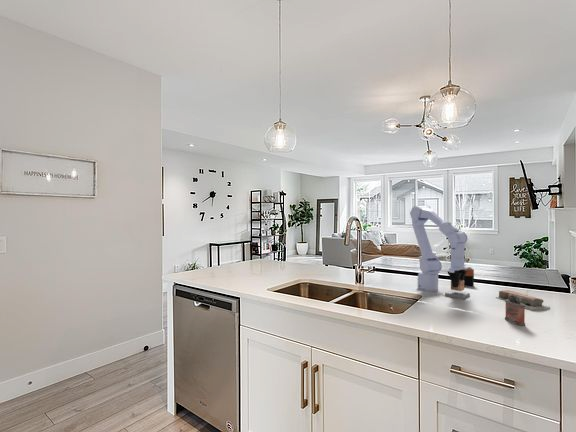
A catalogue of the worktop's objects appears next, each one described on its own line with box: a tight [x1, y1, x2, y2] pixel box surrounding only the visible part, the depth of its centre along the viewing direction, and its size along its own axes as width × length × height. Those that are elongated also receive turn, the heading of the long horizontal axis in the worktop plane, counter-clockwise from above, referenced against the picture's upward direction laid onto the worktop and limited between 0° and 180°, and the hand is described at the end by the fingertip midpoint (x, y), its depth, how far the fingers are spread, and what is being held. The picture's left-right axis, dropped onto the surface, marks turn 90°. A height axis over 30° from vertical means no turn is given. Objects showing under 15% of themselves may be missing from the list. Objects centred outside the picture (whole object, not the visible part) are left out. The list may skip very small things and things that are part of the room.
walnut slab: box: [442, 294, 467, 301], centre depth 157 cm, size 10×10×2 cm
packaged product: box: [495, 289, 551, 312], centre depth 146 cm, size 18×5×10 cm
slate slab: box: [444, 289, 471, 300], centre depth 157 cm, size 8×8×2 cm
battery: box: [463, 266, 475, 288], centre depth 183 cm, size 4×7×10 cm, turn 50°
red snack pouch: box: [504, 294, 526, 327], centre depth 122 cm, size 8×3×10 cm, turn 5°
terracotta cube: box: [450, 280, 465, 292], centre depth 157 cm, size 4×4×4 cm
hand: (457, 286), depth 157 cm, fingers open, 4 cm apart
